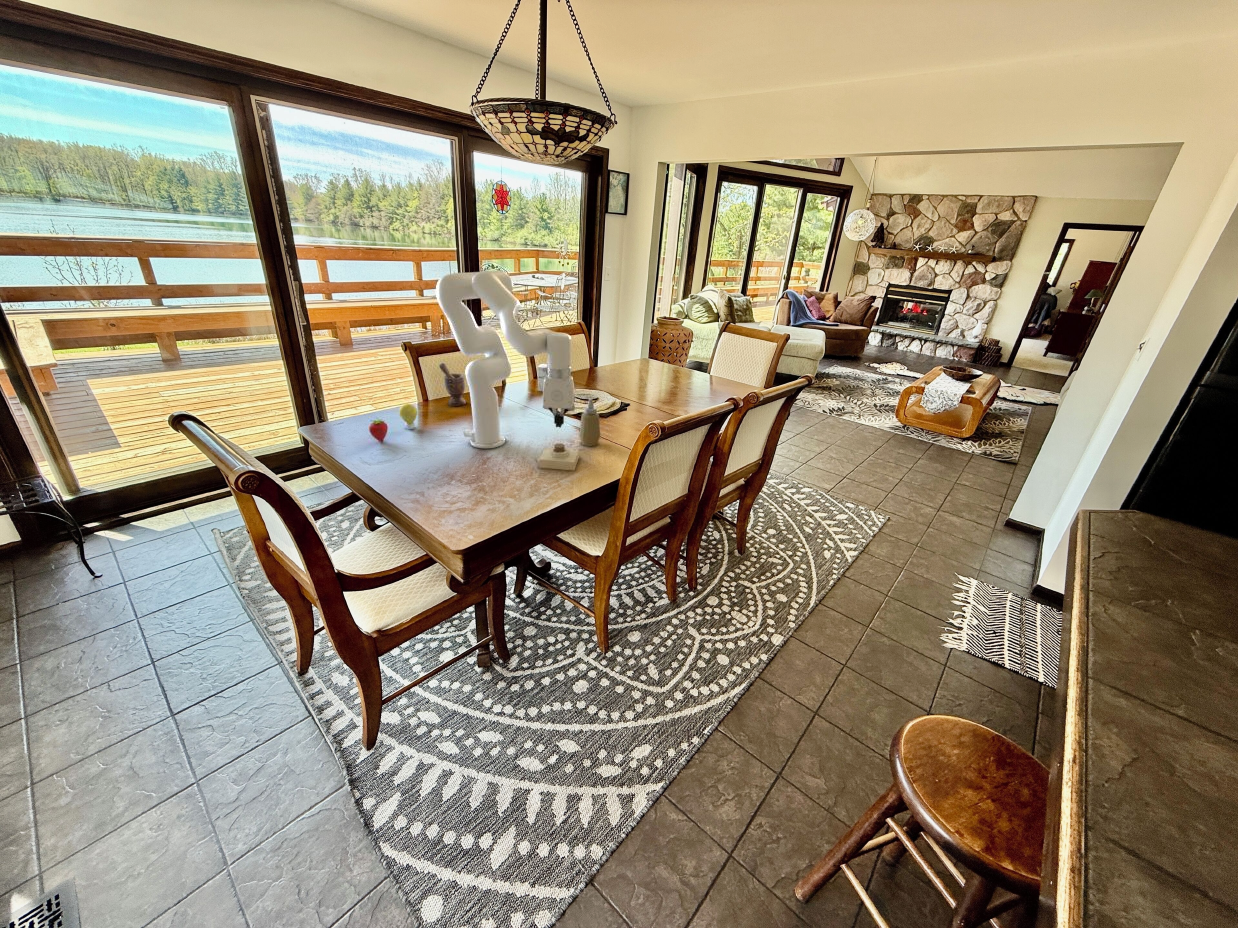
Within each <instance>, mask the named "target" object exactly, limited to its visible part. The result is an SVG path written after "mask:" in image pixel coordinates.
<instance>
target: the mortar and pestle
mask: <svg viewBox="0 0 1238 928" xmlns="http://www.w3.org/2000/svg"><path fill="white" fill-rule="evenodd" d="M438 367H439V368H440V371H441V372H442V373H443V374H444V376H443V380H444V381H443V382H444V386H445V387H444V388H445V390H446V392H447V394H448V395H450V399H449V400H448V405H450V406H452V407H461V406H463V405H466V404H467V403H466V402H467V401H466V400H465V398H464V397H462V396H463V394H464V393H465V388H466V382H465V374H464V373H455V372H454V373H451V371H450V369H449V367H448V366H447V365H446V363H444V362H442V363H440V364H439V366H438Z"/></svg>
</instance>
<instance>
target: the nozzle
mask: <svg viewBox="0 0 1238 928" xmlns="http://www.w3.org/2000/svg"><path fill="white" fill-rule="evenodd" d="M553 447H554V452H564V451H565V447H566V446H565V444H564V443H555V444H554V445H553Z"/></svg>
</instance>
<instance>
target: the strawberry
mask: <svg viewBox="0 0 1238 928" xmlns="http://www.w3.org/2000/svg"><path fill="white" fill-rule="evenodd" d="M376 419H377V420H376ZM376 419H375V420H373V419H372V420H371V423H370V425H369V426H368V432H369V433H370V435H371V436H372V437H373V438H374V439H375V440H377V441H378V442H379V443H382V442H384V440H385V438H386V437H387V433H388V429H389V427H388V425H387V423H386V421H385V420H383V419H382V418H378V417H376Z"/></svg>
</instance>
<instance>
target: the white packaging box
mask: <svg viewBox="0 0 1238 928" xmlns="http://www.w3.org/2000/svg"><path fill="white" fill-rule="evenodd" d="M546 367H547V363H541V364H540V365H538V366H537V391H538V392H543V384H544V378H545V376H546V375H547V374H546V373H545V372H543V368H546Z"/></svg>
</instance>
